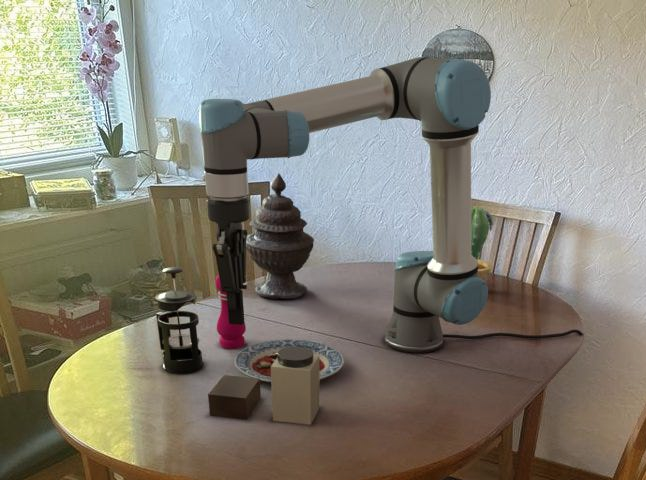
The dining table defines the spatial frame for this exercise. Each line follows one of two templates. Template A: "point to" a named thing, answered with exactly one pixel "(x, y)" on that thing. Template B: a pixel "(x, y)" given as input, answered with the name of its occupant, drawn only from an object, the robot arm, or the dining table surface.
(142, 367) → the dining table surface
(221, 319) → the pepper mill
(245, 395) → the walnut block
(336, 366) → the ceramic plate
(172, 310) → the french press
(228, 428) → the dining table surface
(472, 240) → the potted cactus
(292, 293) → the decorative urn
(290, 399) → the beige box
